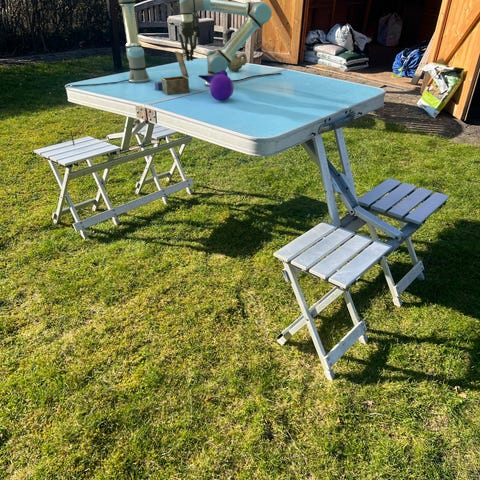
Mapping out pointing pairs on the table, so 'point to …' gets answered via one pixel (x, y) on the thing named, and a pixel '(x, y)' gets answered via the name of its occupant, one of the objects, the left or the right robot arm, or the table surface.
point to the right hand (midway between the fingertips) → (189, 60)
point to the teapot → (237, 62)
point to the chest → (175, 85)
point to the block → (158, 86)
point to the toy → (219, 85)
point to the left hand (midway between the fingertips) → (195, 36)
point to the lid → (182, 62)
